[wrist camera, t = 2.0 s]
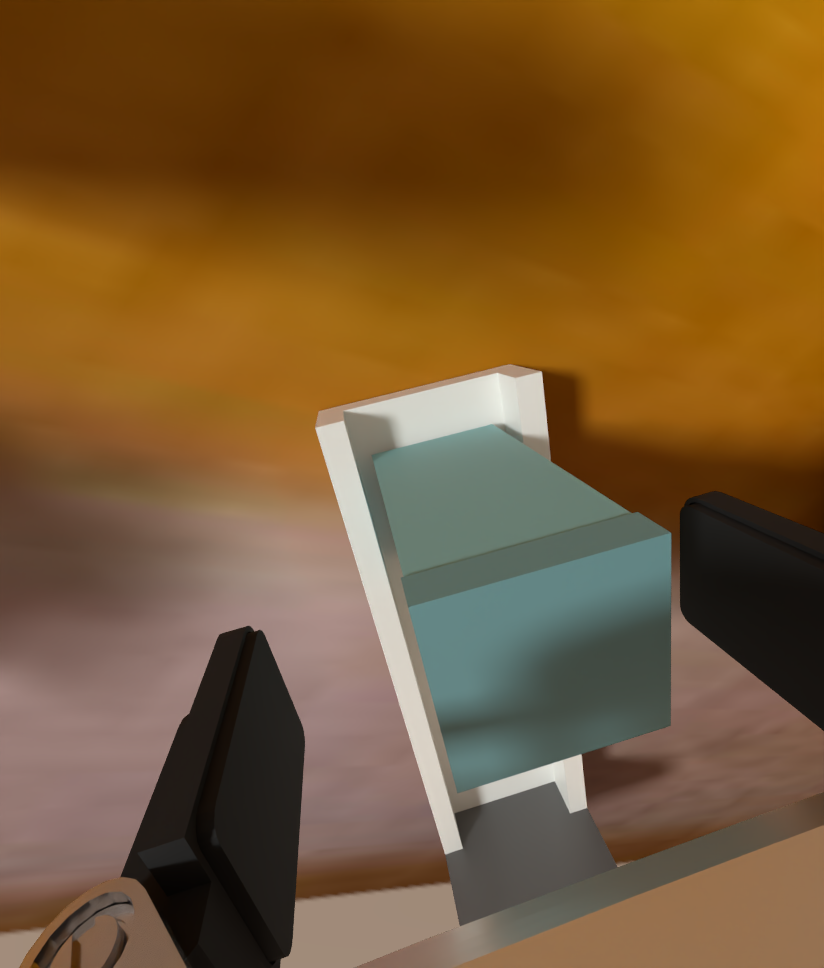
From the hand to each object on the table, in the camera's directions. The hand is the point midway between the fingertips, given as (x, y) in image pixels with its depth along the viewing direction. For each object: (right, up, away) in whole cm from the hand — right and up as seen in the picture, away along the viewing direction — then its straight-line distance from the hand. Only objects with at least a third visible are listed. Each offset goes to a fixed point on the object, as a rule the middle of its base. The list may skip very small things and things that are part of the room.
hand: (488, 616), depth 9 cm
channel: (+1, -3, +9) cm, 10 cm away
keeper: (-1, +2, +5) cm, 6 cm away
